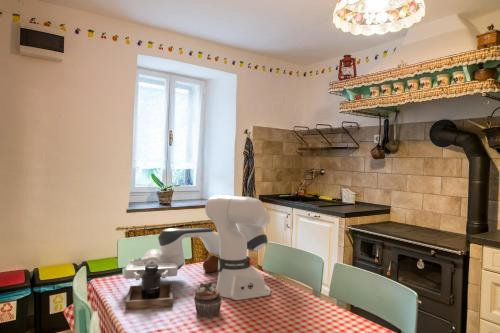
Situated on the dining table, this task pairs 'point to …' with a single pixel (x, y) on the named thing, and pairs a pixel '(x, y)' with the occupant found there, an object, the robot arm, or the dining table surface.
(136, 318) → the dining table surface
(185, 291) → the dining table surface
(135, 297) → the tray
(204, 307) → the cupcake
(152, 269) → the supplement bottle
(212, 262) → the potato
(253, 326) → the dining table surface
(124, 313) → the dining table surface
